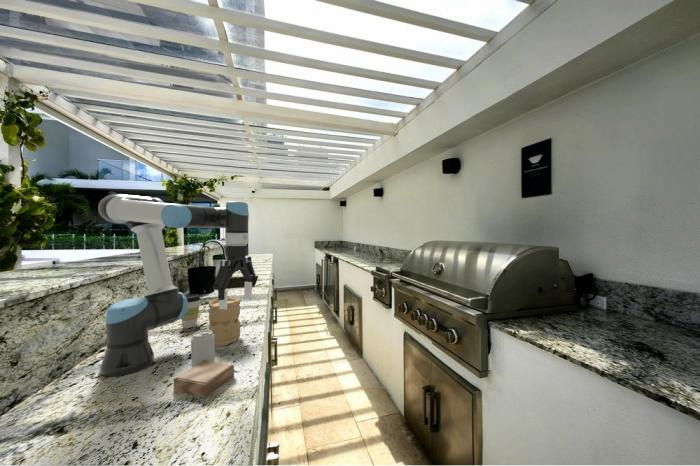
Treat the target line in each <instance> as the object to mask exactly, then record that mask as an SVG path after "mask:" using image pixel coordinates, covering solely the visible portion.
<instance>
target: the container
mask: <svg viewBox="0 0 700 466" xmlns="http://www.w3.org/2000/svg"><path fill="white" fill-rule="evenodd" d="M240 304H241V299H240V297H238V296H227V309H226V310H225V309H219V299H218V297H217V298H213V299H211V300H209V301H208V321H209V323H208V330H211V331H212V333H213V334H214V335H215V347H217V348H218V347H225V346H227V345H229V344H232V343H236V341H237V339H239V338H240V337H241V322H240V319H239V318H240V314H241V305H240Z"/></svg>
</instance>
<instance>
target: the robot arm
mask: <svg viewBox="0 0 700 466" xmlns="http://www.w3.org/2000/svg"><path fill="white" fill-rule="evenodd" d="M97 209H98V213H99V215H100V216H101V218H103V219H104V220H105V221H107V222H110V223H112V224H120V225H121V224H122V225H129V226H130V231H132V232H133V233H134V234H136V237H137V244H138V249H139V254H140V258H141V263H142V268H143V273H144V279H145V283H146V288H147V291H146V293H145V294H144V295H143V297H142V296H139V297H133V298H126V299H122V300H119V301H117V302H115V303H113V304H111V305H110V306H108V308H107V310H106V315H105V327H106V328H105V329H106V330H105V331H106V350H105V352H104V355H103V358H102V361H101V363H100V367H99V372H100V375H102V376H103V377H118V376H125V375H128V374H133V373H135V372H139V371H141V370H143V369H145V368H147V367H149V366H150V365H152V364H153V362H154V361H155V353H154V350H153V348H152V346H151V344H150V341H149V331H151V330H154V329H157V328H161V327H163V326H167V325H169V324H170V325H171V324H173V323H175V322H177V321H180V320H181V318H183V317H184V315H185V313H186V312H187V308H188V301H187V298H186V296H185V294H184V293H183V292H180V291H179V288H178V286H176V285H174V284H173V280H172V275H171V270H170V266H169V260H168V255H167V251H166V247H165V246H166V245H165V239H164V236H163V229H164V228H165V226H166V227H168V228H174V229H182V228H185V229H186V228H190V229H191V228H196V229H197V228H198V229H199V228H202V229H204V228H205V229H207V228H208V229H214V228H215V229H225V244H226V245H225V256H226V257H227V259H221V260H220V262H219V263H220V264H219V268H218V269H219V270H218V272H217V275H216V276H215V277H216V278H215V281H214V283H213V285H212V289H213V290H216V291H217V298H218V299H219V309H225V310H226V309H227V297H228V289H226V288H227V287H228V285H229V283H230V281H231V279H232V277H233V275H234V274H235V273H236V272H239V271H240V272H241V275H242V276H243V278H244V279H245V281H244V297H243V298H244V300H252V298H253V296H252V295H253V292H252V291H253V283H254V282H255V281H256V279H257V276H256V275H257V274H256V273H255V268H254V266H253V262H252V257H251V256H248V255H249V246H248V244H249V220H250V219H249V218H250V216H249V215H250V213H249V204H248V203H247V202H246V201H233V200H232V201H230V200H229V201H227V202H226V203H225V207H212V206H204V205H203V206H202V205H191V204H190V205H189V204H182V203H169V202H164V201H163V200H162V199H160V198H158V197H153V196H144V195H143V196H141V195H133V194H123V193H113V194H109V195H106V196H105V197H104V198H102V199H101V200H100V201H99V202H98V207H97Z"/></svg>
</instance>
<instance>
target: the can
mask: <svg viewBox="0 0 700 466" xmlns="http://www.w3.org/2000/svg"><path fill="white" fill-rule="evenodd" d="M190 349H191V350H190V354H191V355H190V357H191V358H190V359H191V360H190V361H191V362H190V363H191V364H190V366H191V368H192V367H194V366H196V365H197V364H199V363H201V362H203V361H204V360H206V361H213V362H216V361H215V360H216V355H215V354H216V352H215V351H216V350H215V349H216V348H215V335H214V334H213V333H212V331H211V330H209V329H203V330H198V331H196V332H195V333H193V334H192V337H191V339H190Z"/></svg>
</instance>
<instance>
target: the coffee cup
mask: <svg viewBox="0 0 700 466" xmlns="http://www.w3.org/2000/svg"><path fill="white" fill-rule="evenodd" d="M184 296H186V298H187V301H188V308H187V312H186V313H185V315H184V317H183V318H181V319H180V320H181V324H182V328H186V329H189V328H190V329H191V328H195V327H196V326H197V325H198V318H199V309H200V301H201V297H200V295H199V294H187V295H185V294H184Z"/></svg>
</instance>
